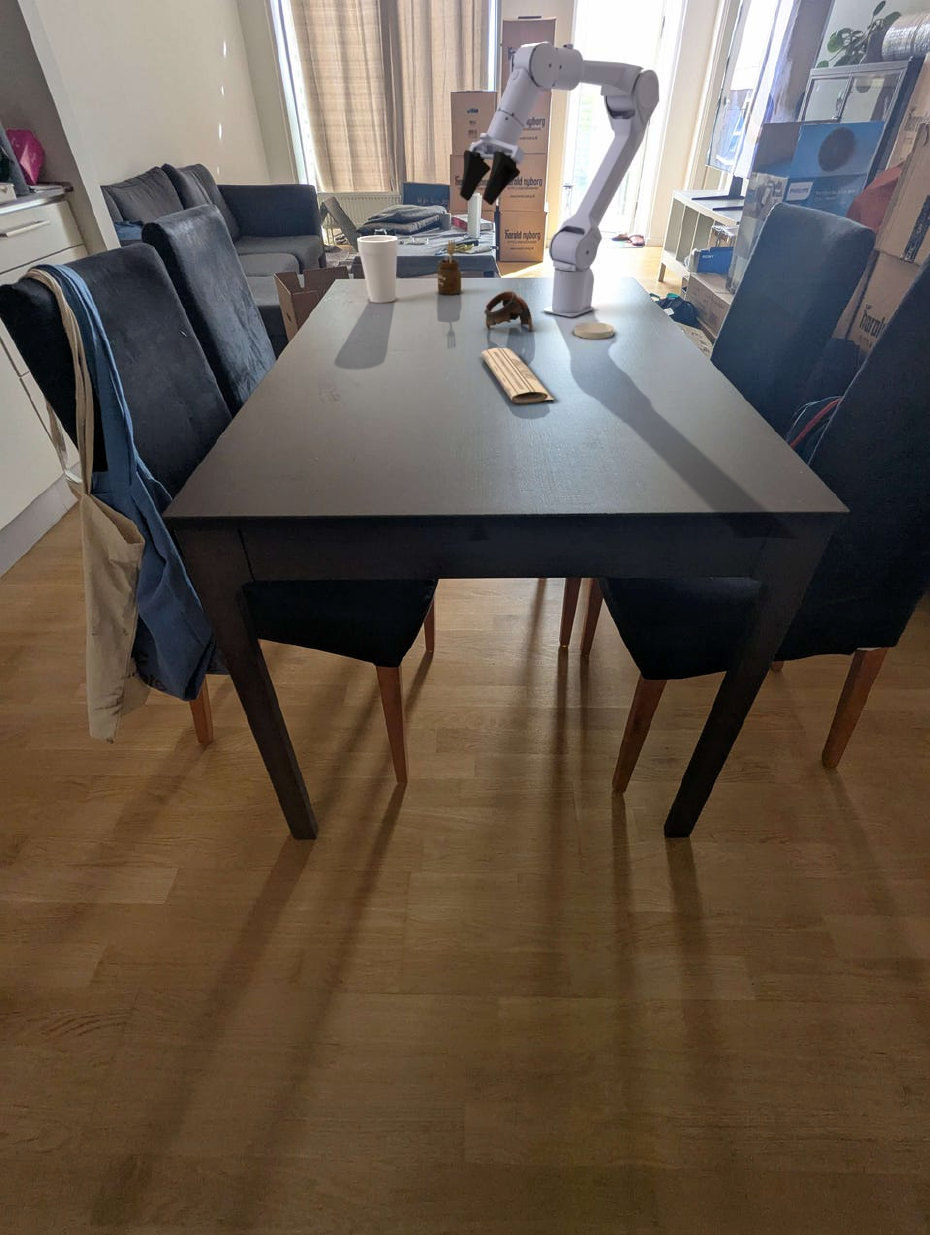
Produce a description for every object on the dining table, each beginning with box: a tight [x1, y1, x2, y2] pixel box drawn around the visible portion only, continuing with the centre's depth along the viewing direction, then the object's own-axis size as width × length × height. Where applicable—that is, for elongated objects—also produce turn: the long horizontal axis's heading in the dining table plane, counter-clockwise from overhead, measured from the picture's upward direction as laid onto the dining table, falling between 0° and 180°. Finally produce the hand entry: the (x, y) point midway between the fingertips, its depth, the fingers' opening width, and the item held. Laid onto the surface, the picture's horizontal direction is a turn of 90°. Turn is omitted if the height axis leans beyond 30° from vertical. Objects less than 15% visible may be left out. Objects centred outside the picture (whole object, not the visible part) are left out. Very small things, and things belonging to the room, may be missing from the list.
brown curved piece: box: [484, 290, 534, 332], centre depth 130 cm, size 12×10×8 cm
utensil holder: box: [437, 239, 462, 296], centre depth 153 cm, size 6×6×12 cm
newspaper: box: [481, 347, 555, 404], centre depth 107 cm, size 24×7×2 cm, turn 11°
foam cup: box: [357, 234, 399, 304], centre depth 148 cm, size 10×9×13 cm
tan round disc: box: [573, 321, 615, 340], centre depth 127 cm, size 8×8×1 cm
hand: (475, 200), depth 116 cm, fingers open, 7 cm apart
